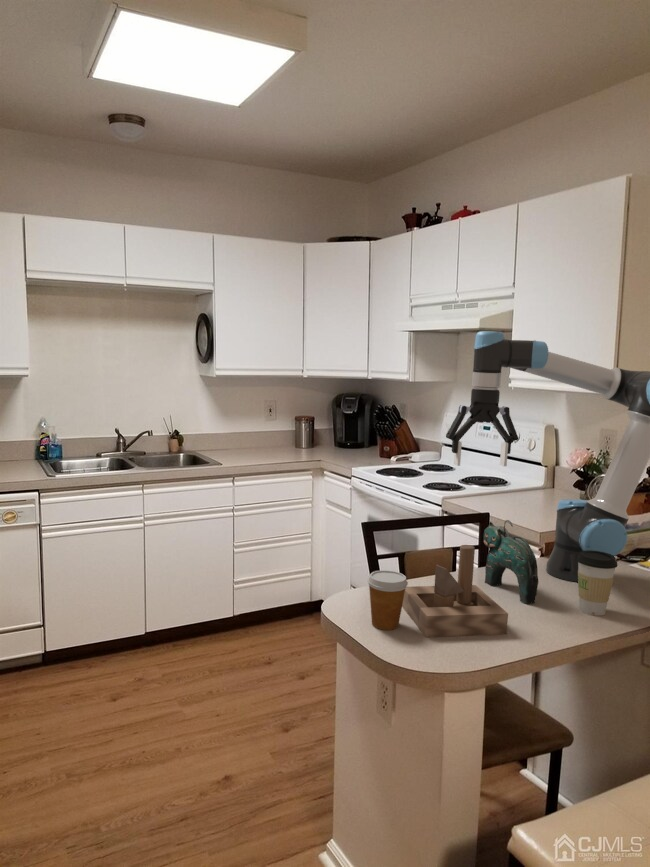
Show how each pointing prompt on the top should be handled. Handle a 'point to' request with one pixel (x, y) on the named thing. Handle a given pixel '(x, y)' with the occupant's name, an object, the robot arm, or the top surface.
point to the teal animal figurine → (510, 561)
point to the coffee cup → (595, 580)
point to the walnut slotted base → (454, 614)
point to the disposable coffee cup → (386, 598)
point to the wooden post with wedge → (449, 586)
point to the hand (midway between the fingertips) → (480, 465)
